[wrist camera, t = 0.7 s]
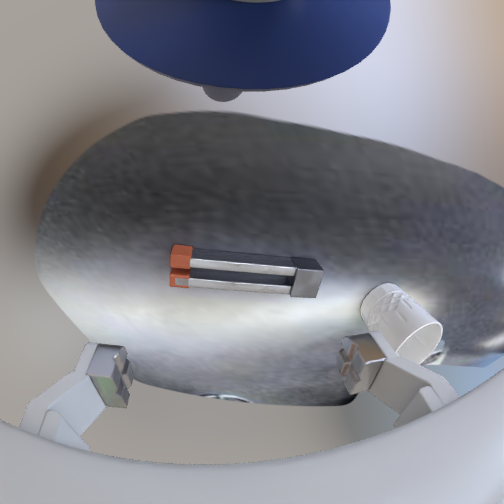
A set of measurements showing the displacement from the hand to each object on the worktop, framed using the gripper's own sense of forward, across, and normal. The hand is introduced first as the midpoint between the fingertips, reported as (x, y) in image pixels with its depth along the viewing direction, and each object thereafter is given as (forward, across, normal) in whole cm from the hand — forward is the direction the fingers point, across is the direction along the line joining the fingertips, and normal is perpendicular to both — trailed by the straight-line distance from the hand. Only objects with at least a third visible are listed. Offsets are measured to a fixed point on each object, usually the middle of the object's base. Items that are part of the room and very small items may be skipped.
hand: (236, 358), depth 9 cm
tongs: (+19, -2, +6) cm, 20 cm away
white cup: (+19, -22, +13) cm, 32 cm away
